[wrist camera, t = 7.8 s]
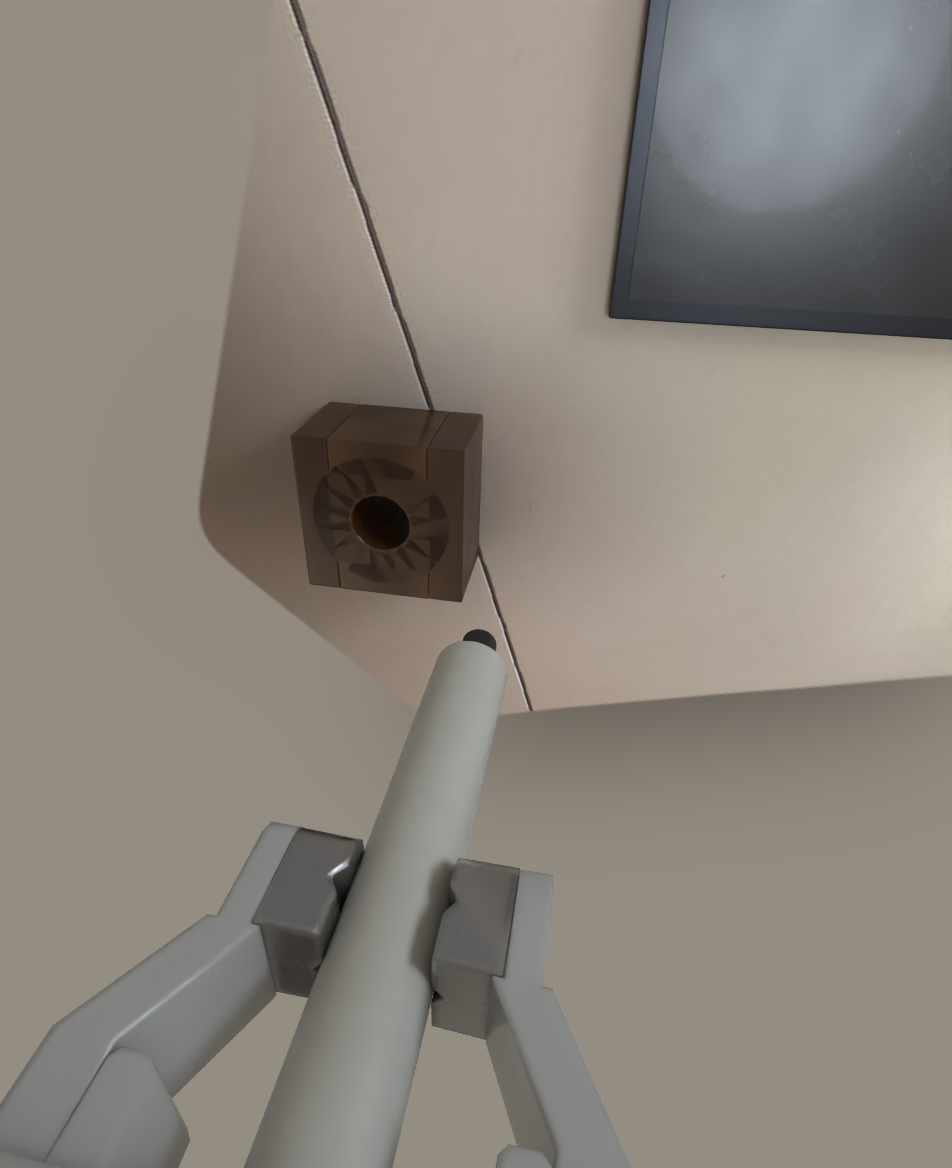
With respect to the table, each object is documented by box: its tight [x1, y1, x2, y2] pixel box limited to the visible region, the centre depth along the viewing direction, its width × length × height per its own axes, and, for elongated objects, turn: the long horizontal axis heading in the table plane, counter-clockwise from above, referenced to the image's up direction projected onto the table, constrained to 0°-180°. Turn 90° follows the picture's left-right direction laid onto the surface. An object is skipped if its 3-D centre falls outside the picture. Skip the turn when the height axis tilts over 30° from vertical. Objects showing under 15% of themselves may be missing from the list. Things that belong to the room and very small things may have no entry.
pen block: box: [291, 402, 483, 602], centre depth 34 cm, size 8×8×5 cm
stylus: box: [244, 629, 507, 1168], centre depth 10 cm, size 2×2×14 cm
